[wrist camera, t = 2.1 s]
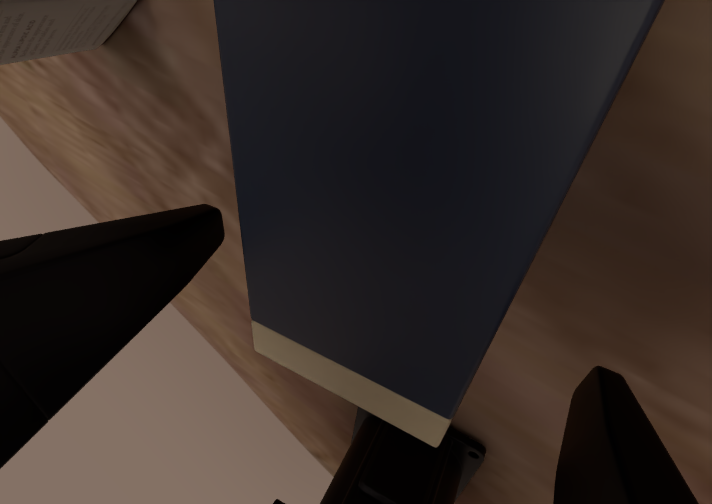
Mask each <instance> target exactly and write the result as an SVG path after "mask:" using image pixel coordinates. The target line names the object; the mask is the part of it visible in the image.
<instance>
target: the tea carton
mask: <svg viewBox="0 0 712 504" xmlns="http://www.w3.org/2000/svg"><path fill="white" fill-rule="evenodd" d="M664 1H665V0H214V8H215V16H216V25H217V33H218V42H219V50H220V59H221V67H222V76H223V84H224V93H225V101H226V110H227V118H228V127H229V135H230V144H231V152H232V161H233V169H234V178H235V186H236V195H237V203H238V212H239V220H240V229H241V237H242V246H243V254H244V263H245V271H246V280H247V288H248V297H249V305H250V314H251V318H252V322H251V324H252V332H253V341H254V349H255V350H256V351H257V352H258V353H260V354H262V355H264V356H266V357H268V358H269V359H271V360H273V361H275V362H277V363H279V364H281V365H282V366H284V367H286V368H288V369H290V370H292V371H294V372H296V373H297V374H299V375H301V376H303V377H305V378H307V379H309V380H310V381H312V382H314V383H316V384H318V385H320V386H322V387H323V388H325V389H327V390H329V391H331V392H333V393H335V394H336V395H338V396H340V397H342V398H344V399H346V400H348V401H349V402H351V403H353V404H355V405H357V406H359V407H361V408H362V409H364V410H366V411H368V412H370V413H372V414H374V415H375V416H377V417H379V418H381V419H383V420H385V421H387V422H388V423H390V424H392V425H394V426H396V427H398V428H400V429H402V430H403V431H405V432H407V433H409V434H411V435H413V436H415V437H416V438H418V439H420V440H422V441H424V442H426V443H428V444H429V445H431V446H433V447H438V446H439V445H440V443H441V441H442V439H443V437H444V435H445V433H446V431H447V429H448V427H449V425H450V423H451V420H452V418H453V417H454V415H455V413H456V411H457V409H458V407H459V405H460V403H461V401H462V399H463V397H464V395H465V393H466V391H467V389H468V387H469V385H470V383H471V381H472V379H473V377H474V375H475V373H476V372H477V370H478V368H479V366H480V364H481V362H482V360H483V358H484V356H485V354H486V352H487V350H488V348H489V346H490V344H491V342H492V340H493V338H494V336H495V334H496V332H497V330H498V328H499V326H500V324H501V322H502V320H503V318H504V316H505V314H506V312H507V310H508V308H509V306H510V304H511V302H512V300H513V299H514V297H515V295H516V293H517V291H518V289H519V287H520V285H521V283H522V281H523V279H524V277H525V275H526V273H527V271H528V269H529V267H530V265H531V263H532V261H533V259H534V257H535V255H536V253H537V251H538V249H539V247H540V245H541V243H542V241H543V239H544V237H545V235H546V233H547V231H548V229H549V227H550V226H551V224H552V222H553V220H554V218H555V216H556V214H557V212H558V210H559V208H560V206H561V204H562V202H563V200H564V198H565V196H566V194H567V192H568V190H569V188H570V186H571V184H572V182H573V180H574V178H575V176H576V174H577V172H578V170H579V168H580V166H581V164H582V162H583V160H584V158H585V156H586V154H587V153H588V151H589V149H590V147H591V145H592V143H593V141H594V139H595V137H596V135H597V133H598V131H599V129H600V127H601V125H602V123H603V121H604V119H605V117H606V115H607V113H608V111H609V109H610V107H611V105H612V103H613V101H614V99H615V97H616V95H617V93H618V91H619V89H620V87H621V85H622V83H623V81H624V79H625V78H626V76H627V74H628V72H629V70H630V68H631V66H632V64H633V62H634V60H635V58H636V56H637V54H638V52H639V50H640V48H641V46H642V44H643V42H644V40H645V38H646V36H647V34H648V32H649V30H650V28H651V26H652V24H653V22H654V20H655V18H656V16H657V14H658V12H659V10H660V8H661V6H662V5H663V3H664Z"/></svg>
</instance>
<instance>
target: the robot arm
mask: <svg viewBox="0 0 712 504" xmlns="http://www.w3.org/2000/svg"><path fill="white" fill-rule="evenodd" d="M224 236H225V233H224V227H223V220H222V214H221V212H220V210H219V209H218V208H215V207H213V206H210V205H208V204H201V205H196V206H190V207H185V208H179V209H174V210H168V211H163V212H157V213H152V214H146V215H141V216H135V217H130V218H125V219H119V220H114V221H108V222H103V223H97V224H92V225H86V226H81V227H75V228H70V229H65V230H59V231H54V232H48V233H45V234H38V235H31V236H26V237H21V238H14V239H9V240H3V241H0V468H1V467H3V466H4V464H6V463H7V462H8V461H9V460H10V459H11V458H12V457H13V456H14V455H15V454H16V453H17V452H18V451H19V450H20V449H21V448H22V447H23V446H24V445H25V444H26V443H27V442H28V441H29V440H30V439H31V438H32V437H33V436H34V435H35V434H36V433H37V432H38V431H39V430H40V429H41V428H42V427H43V426H44V425H45V424H46V423H47V422H48V420H50V419H51V418H52V417H53V416H54V415H55V414H56V413H57V412H58V411H59V410H60V409H61V408H62V407H63V406H64V405H65V404H66V403H67V402H68V401H69V400H70V399H71V398H73V397H74V396H75V395H76V394H77V392H79V391H80V390H81V389H82V388H83V387H84V386H85V385H86V384H87V383H88V382H89V381H90V380H91V379H92V378H93V377H94V376H95V375H96V374H97V373H98V372H99V371H100V370H101V369H102V368H103V367H104V366H105V365H106V364H107V363H108V362H109V361H110V360H111V359H112V358H113V357H114V356H115V355H116V354H117V353H118V352H119V351H120V350H121V349H122V348H123V347H124V346H125V345H127V344H128V343H129V342H130V340H132V339H133V338H134V337H135V336H136V335H137V334H138V333H139V332H140V331H141V330H142V329H143V328H144V327H145V326H146V325H147V324H148V323H149V322H150V321H151V320H152V319H153V318H154V317H155V316H156V315H157V314H158V313H159V312H160V311H161V310H162V309H163V308H164V307H165V306H166V305H167V304H168V303H169V302H170V301H171V300H172V299H173V298H174V297H175V296H176V295H178V294H179V293H180V292H181V291H182V289H183V288H184V287H185V286H186V285H187V284H188V283H189V282H190V281H191V280H192V279H193V277H194V276H195V275H196V274H197V273H198V271H199V270H200V269H201V268H202V267H203V265H204V264H205V263H206V262H207V261H208V259H209V258H210V257H211V256H212V255H213V253H214V252H215V251H216V250H217V249H218V247H219V246H220V245H221V244H222V242H223V240H224ZM485 453H486V449H485V447H484V446H483V445H482V444H480V443H478V442H477V441H475V440H473V439H471V438H469V437H467V436H465V435H463V434H461V433H459V432H457V431H455V430H453V429H451V428H449V427H448V429H447V431H446V433H445V435H444V437H443V439H442V441H441V443H440V445H439V446H438V447H433V446H431V445H429V444H428V443H426V442H424V441H422V440H420V439H418V438H416V437H415V436H413V435H411V434H409V433H407V432H405V431H403V430H402V429H400V428H398V427H396V426H394V425H392V424H390V423H388V422H387V421H385V420H383V419H381V418H379V417H377V416H375V415H374V414H372V413H370V412H368V411H366V410H364V409H362V408H361V407H359V406H358V411H357V416H356V421H355V427H354V432H353V437H352V442H351V446H350V447H349V449H348V451H347V453H346V455H345V457H344V459H343V461H342V463H341V465H340V467H339V468H338V470H337V472H336V474H335V476H334V478H333V480H332V482H331V484H330V486H329V488H328V489H327V492H326V493H325V495H324V497H323V499H322V501H321V503H320V504H454V502H455V501H456V499H457V498H458V496H459V495H460V493H461V492H462V491H463V489H464V488H465V486H466V485H467V484H468V482H469V481H470V479H471V478H472V476H473V475H474V474H475V472H476V471H477V469H478V468H479V467H480V465H481V464H482V462H483V461H484V458H485ZM273 504H285V503H283V502H281V501H280V500H278V499H276V500H275V501H274V503H273ZM553 504H699V503H698V502H697V500H696V498H695V497H694V495H693V493H692V492H691V490H690V488H689V487H688V485H687V483H686V481H685V480H684V478H683V476H682V475H681V473H680V471H679V470H678V468H677V466H676V465H675V463H674V461H673V460H672V458H671V456H670V455H669V453H668V451H667V450H666V448H665V446H664V445H663V443H662V441H661V440H660V438H659V436H658V435H657V433H656V431H655V429H654V428H653V426H652V424H651V423H650V421H649V419H648V418H647V416H646V414H645V413H644V411H643V409H642V408H641V406H640V404H639V403H638V401H637V399H636V398H635V396H634V394H633V393H632V391H631V389H630V388H629V386H628V384H627V383H626V381H625V379H624V378H623V377H622V376H621V375H620V374H619V373H616V372H614V371H611V370H609V369H607V368H604V367H602V366H596V367H594V368H593V369H592V370H591V371H590V372H589V373H588V375H587V376H586V377H585V378H584V379H583V381H582V382H581V383H580V384H579V386H578V387H577V388H576V390H575V391H574V393H573V396H572V399H571V404H570V408H569V413H568V418H567V422H566V427H565V432H564V437H563V441H562V446H561V451H560V455H559V460H558V465H557V471H556V479H555V490H554V502H553Z"/></svg>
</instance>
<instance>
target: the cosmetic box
mask: <svg viewBox="0 0 712 504" xmlns="http://www.w3.org/2000/svg"><path fill="white" fill-rule="evenodd" d="M136 1H137V0H0V65H3V64H9V63H14V62H20V61H26V60H32V59H38V58H44V57H51V56H56V55H61V54H68V53H73V52H79V51H87V50H93V49H97V48H98V47H99V46H100V45H102V44H103V43H104V42H105V40H106V39H107V38H108V37H109V36H110V35H111V34H112V32H113V31H114V30H115V29H116V27H117V26H118V25H119V24H120V22H121V21H122V20H123V19H124V18H125V16H126V15H127V14H128V13H129V11H130V10H131V8H132V7H133V6H134V4H135V3H136Z"/></svg>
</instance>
